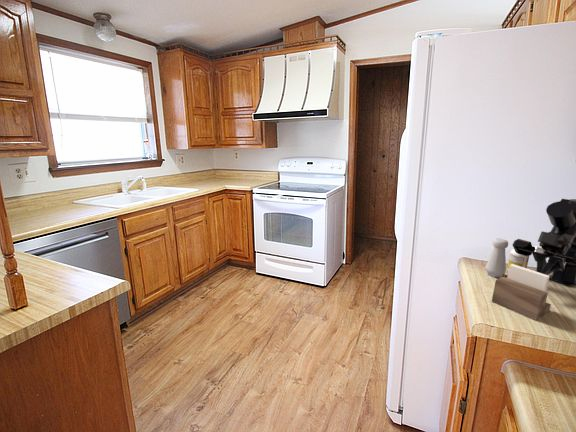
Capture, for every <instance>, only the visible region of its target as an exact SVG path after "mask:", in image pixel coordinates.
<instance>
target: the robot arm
mask: <svg viewBox="0 0 576 432" xmlns="http://www.w3.org/2000/svg"><path fill="white" fill-rule="evenodd" d="M545 209H546V210H545V211H546V214H547V217H548V220H549V221H550V223H551V225H552V228H551V230H550V231H548V232H547V231H544V230H543V231H541V232H540V234H539V236H538V239H537V242H538V243H539V247H538V246H533V243H532V242H531V241H528V240H526V239H521V238H517V239H515V240H514V241H513V243H512V247H513V249H514V250H515V252H516V253H517V254H520V255H524V256H529V257H530V256H533V259H534V261H535V262H536V272H539V273H542V274H545V275H548V276H550V277H549V280H551V281H554V282H557V283H558V284H561V285H563V286H566V287H570V286H575V285H576V198H575V199H574V198H573V199H572V198H571V199H568V198H561V200H560V201H556V202H552V203H551V204H549V205H547V207H546V208H545ZM547 258H548V259H547ZM547 260H548V261H547Z"/></svg>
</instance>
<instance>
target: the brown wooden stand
mask: <svg viewBox="0 0 576 432" xmlns="http://www.w3.org/2000/svg"><path fill="white" fill-rule="evenodd" d="M548 294H549V292H547V291H546V292H544V291H542V290H539V289H536V288H533V287H530V286H528V285H525V284H522V283H519V282H516V281H514V280H511V279H508V278H507V277H505V276H501V277H500V278H497V279H495V281H494V287H493V293H492V298H491V302H492V303H493V304H496V305H498V306H501V307H503V308H506V309H507V310H510V311H513V312H514V313H517V314H520V315H522V316H523V317H526V318H527V319H528V318H529V319H531V320H533V321H537V320H539V319H540V318H541V317H543V316H544V315H546V314H547V313H548V312H549V311H550V309H551V305H552V304H550V303H548V302H547V298H548V296H549V295H548Z"/></svg>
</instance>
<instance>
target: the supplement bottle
mask: <svg viewBox="0 0 576 432" xmlns="http://www.w3.org/2000/svg"><path fill="white" fill-rule="evenodd" d="M529 259H530V256H524V255H520V254H517V253H516V252H515V250H514V248H512V249H511V250H510V253H509V258H508V262H507V263H508V264H507V266H506V267H507V268H506V270H507V272H508V271H509V266H510V265H511V264H514V265H517V266H520V267H523V268H527V269H528V264H529V261H530V260H529Z"/></svg>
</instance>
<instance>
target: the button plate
mask: <svg viewBox="0 0 576 432" xmlns="http://www.w3.org/2000/svg"><path fill="white" fill-rule="evenodd" d="M549 277H550V275H545V274H542V273H539V272H537V270H536V271H535V270H533V269H529V268H528V267H527V268H523V267H520V266H517V265H514V264H511V265H510V266H509V271H508V270H507V276H506V278H508V279H511V280H514V281H516V282H519V283H522V284H525V285H528V286H530V287H533V288H536V289H539V290H542V291H544V292H547V289H548V285H549V281H550V279H549Z"/></svg>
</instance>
